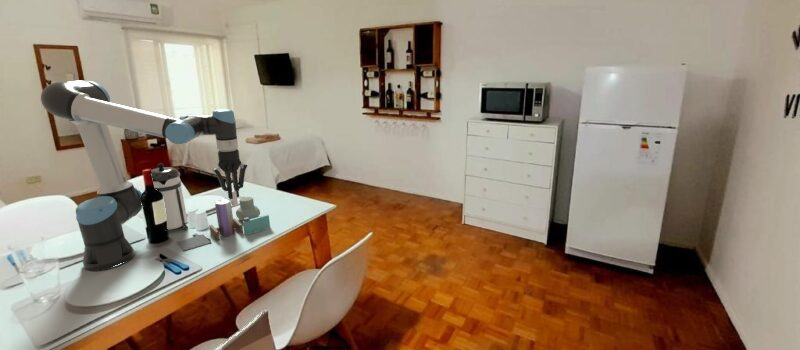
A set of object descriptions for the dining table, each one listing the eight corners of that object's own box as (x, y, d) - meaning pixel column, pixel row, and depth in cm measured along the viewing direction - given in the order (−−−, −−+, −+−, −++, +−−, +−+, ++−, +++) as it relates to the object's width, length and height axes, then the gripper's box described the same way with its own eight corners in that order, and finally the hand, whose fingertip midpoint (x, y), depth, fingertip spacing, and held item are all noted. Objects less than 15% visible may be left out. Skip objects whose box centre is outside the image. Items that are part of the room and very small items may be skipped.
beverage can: (223, 238, 155) (218, 205, 151) (217, 234, 159) (212, 201, 155) (237, 233, 159) (232, 201, 155) (231, 229, 163) (226, 197, 159)
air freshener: (234, 218, 175) (232, 198, 172) (251, 213, 181) (249, 193, 178) (245, 224, 168) (243, 204, 165) (262, 219, 174) (260, 199, 171)
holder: (217, 240, 153) (216, 232, 152) (210, 233, 160) (209, 225, 158) (243, 233, 160) (242, 224, 159) (235, 226, 166) (234, 218, 165)
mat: (183, 251, 145) (183, 250, 145) (177, 242, 152) (176, 241, 152) (210, 243, 151) (210, 242, 151) (203, 235, 158) (203, 234, 158)
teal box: (245, 235, 158) (243, 219, 156) (244, 233, 159) (242, 218, 157) (270, 227, 165) (268, 212, 163) (268, 226, 166) (267, 211, 164)
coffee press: (201, 222, 171) (190, 159, 162) (171, 237, 156) (157, 169, 147) (172, 217, 176) (160, 156, 167) (140, 232, 161) (125, 165, 152)
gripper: (213, 153, 138) (221, 212, 145) (248, 148, 147) (254, 204, 154) (207, 150, 144) (215, 206, 151) (241, 145, 152) (247, 199, 159)
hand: (234, 205), depth 152 cm, fingers closed
